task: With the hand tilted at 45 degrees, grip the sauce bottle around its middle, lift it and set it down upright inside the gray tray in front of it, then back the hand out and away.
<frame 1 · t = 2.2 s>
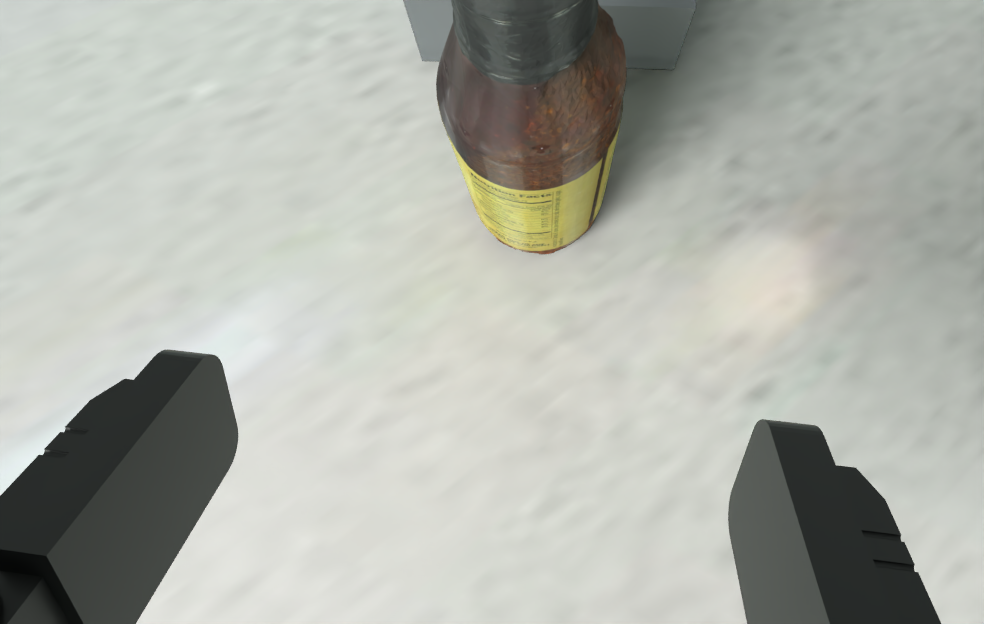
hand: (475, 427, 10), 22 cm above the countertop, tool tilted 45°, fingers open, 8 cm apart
sauce bottle: (535, 204, 33), on the countertop
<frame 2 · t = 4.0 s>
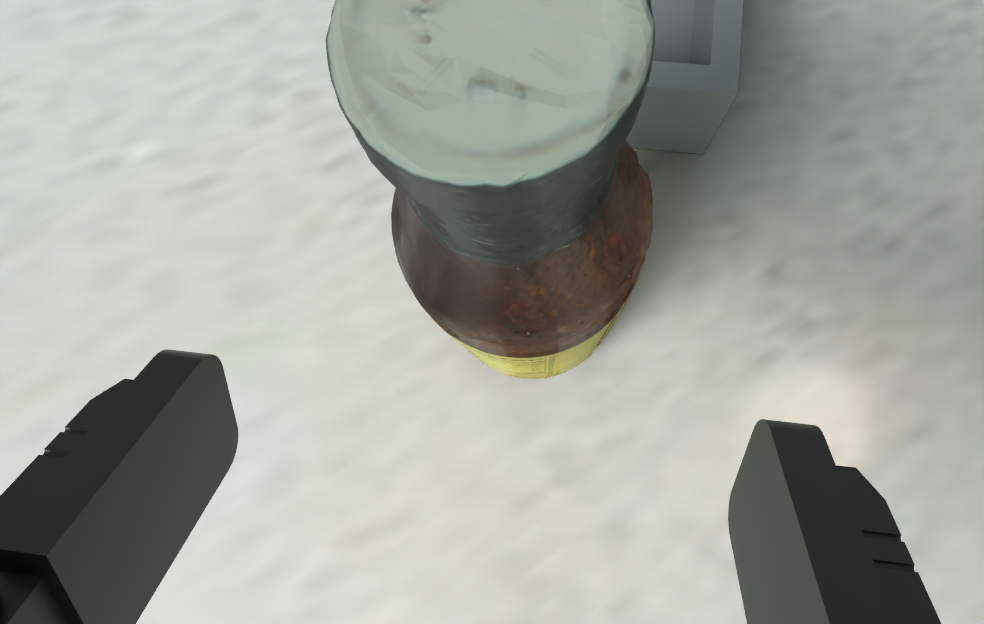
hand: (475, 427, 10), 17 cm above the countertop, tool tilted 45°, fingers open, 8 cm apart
gray tray: (564, 6, 30), on the countertop
sauce bottle: (529, 311, 28), on the countertop
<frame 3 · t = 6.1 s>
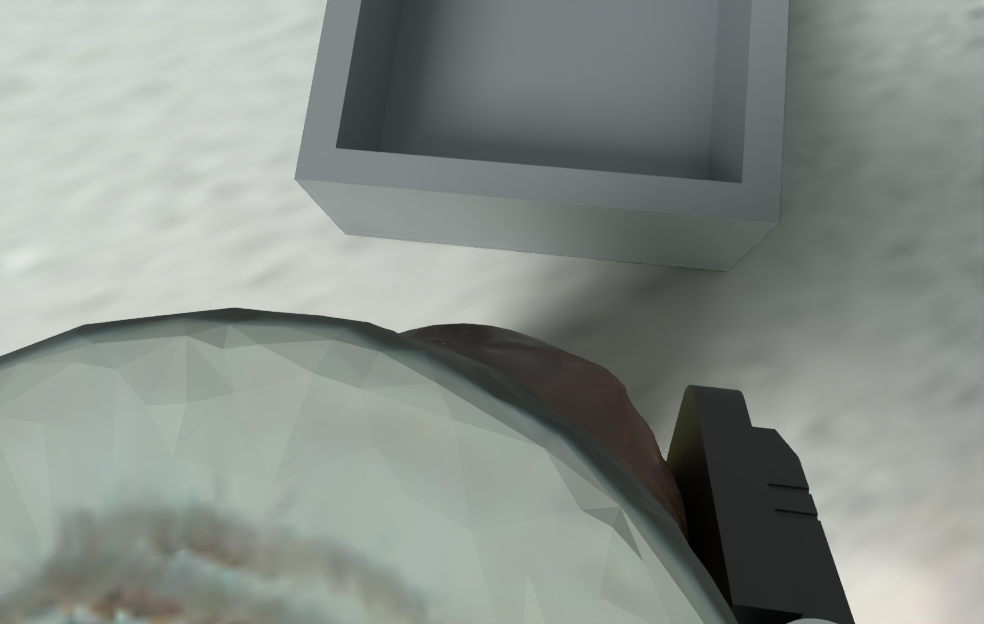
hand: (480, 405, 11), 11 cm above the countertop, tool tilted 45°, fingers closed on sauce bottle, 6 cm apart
gray tray: (550, 78, 24), on the countertop
sauce bottle: (505, 476, 21), on the countertop, touching gripper
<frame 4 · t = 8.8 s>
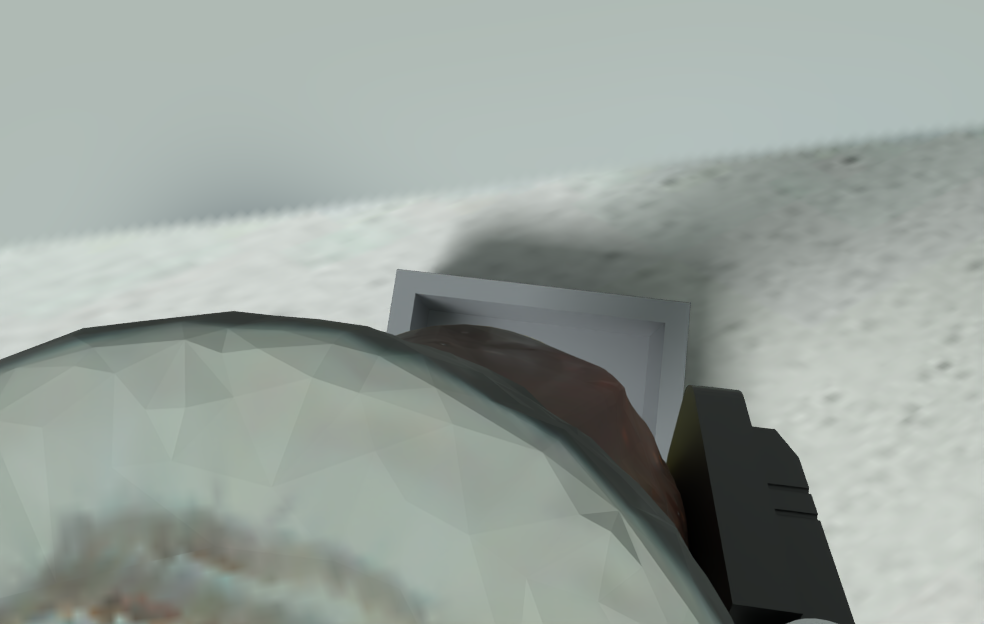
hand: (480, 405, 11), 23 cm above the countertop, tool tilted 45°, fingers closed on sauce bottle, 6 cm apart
gray tray: (524, 434, 33), on the countertop
sauce bottle: (505, 477, 21), point 12 cm above the countertop, touching gripper
when the fingers open (14 cm above the countertop, at t = 11.8 s): sauce bottle drops 1 cm, resting on gray tray.
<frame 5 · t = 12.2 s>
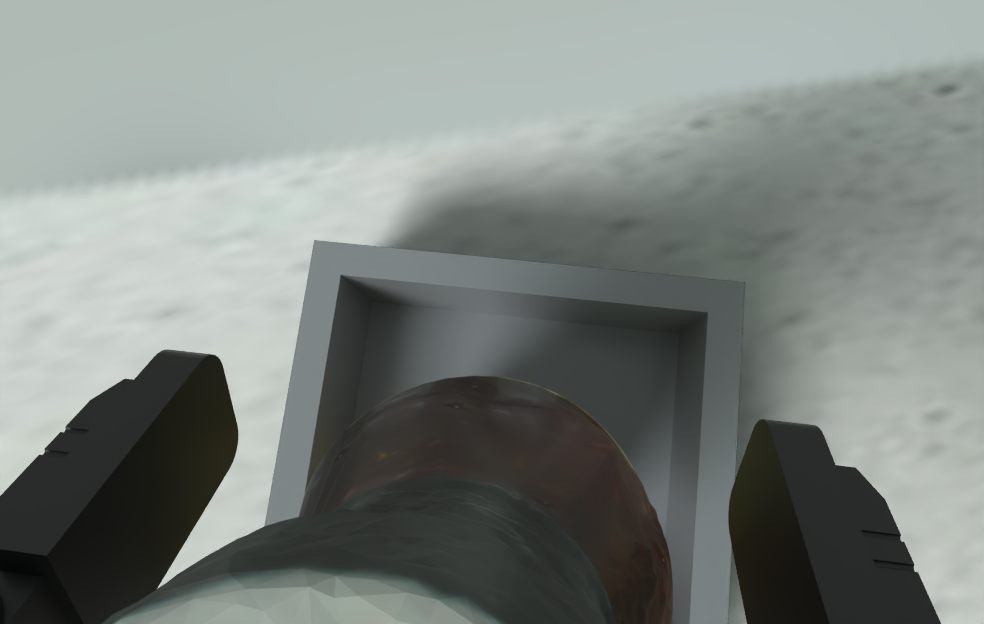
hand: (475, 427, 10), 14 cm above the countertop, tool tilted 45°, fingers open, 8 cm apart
gray tray: (506, 473, 24), on the countertop
sauce bottle: (509, 481, 23), point 1 cm above the countertop, touching gray tray
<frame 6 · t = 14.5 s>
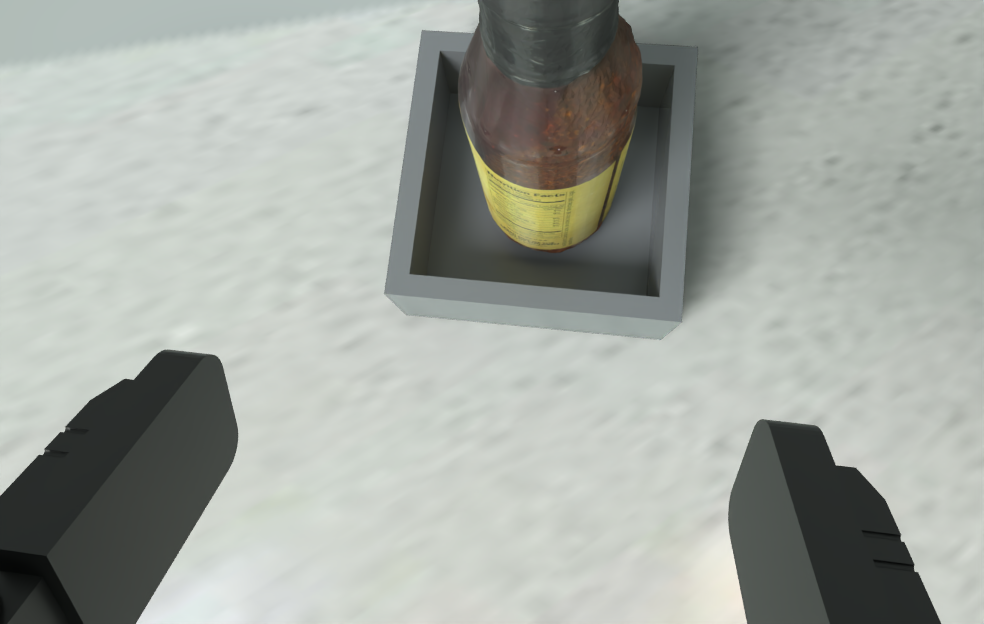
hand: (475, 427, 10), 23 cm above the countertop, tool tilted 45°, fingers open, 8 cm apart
gray tray: (543, 206, 35), on the countertop
sauce bottle: (546, 204, 34), point 1 cm above the countertop, touching gray tray
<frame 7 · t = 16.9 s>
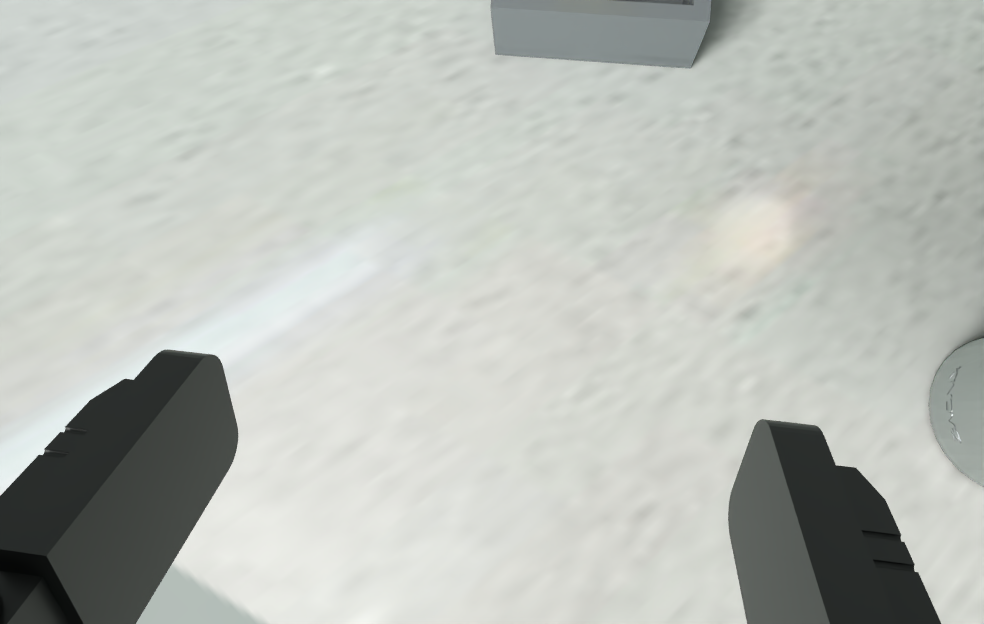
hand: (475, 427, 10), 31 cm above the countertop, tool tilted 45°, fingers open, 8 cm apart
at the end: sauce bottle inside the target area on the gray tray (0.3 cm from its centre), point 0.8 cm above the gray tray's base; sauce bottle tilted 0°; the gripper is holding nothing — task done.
